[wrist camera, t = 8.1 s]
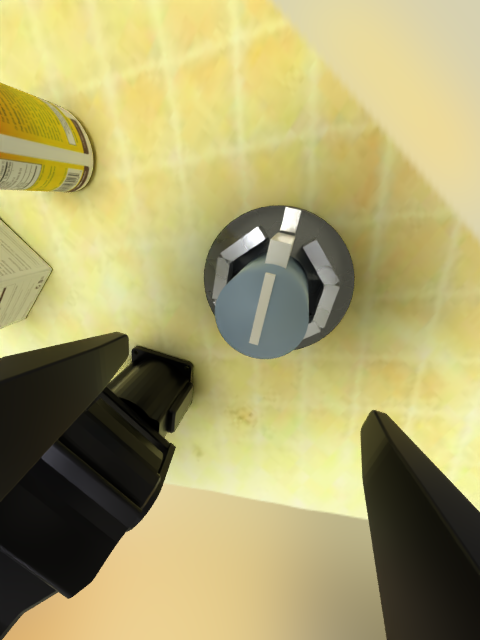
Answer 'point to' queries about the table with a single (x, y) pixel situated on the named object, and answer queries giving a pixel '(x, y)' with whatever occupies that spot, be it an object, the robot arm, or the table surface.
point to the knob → (266, 303)
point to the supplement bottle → (41, 145)
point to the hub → (308, 249)
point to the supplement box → (18, 277)
